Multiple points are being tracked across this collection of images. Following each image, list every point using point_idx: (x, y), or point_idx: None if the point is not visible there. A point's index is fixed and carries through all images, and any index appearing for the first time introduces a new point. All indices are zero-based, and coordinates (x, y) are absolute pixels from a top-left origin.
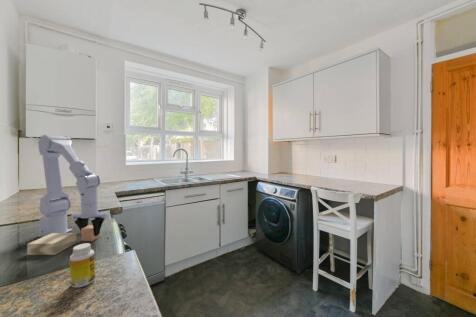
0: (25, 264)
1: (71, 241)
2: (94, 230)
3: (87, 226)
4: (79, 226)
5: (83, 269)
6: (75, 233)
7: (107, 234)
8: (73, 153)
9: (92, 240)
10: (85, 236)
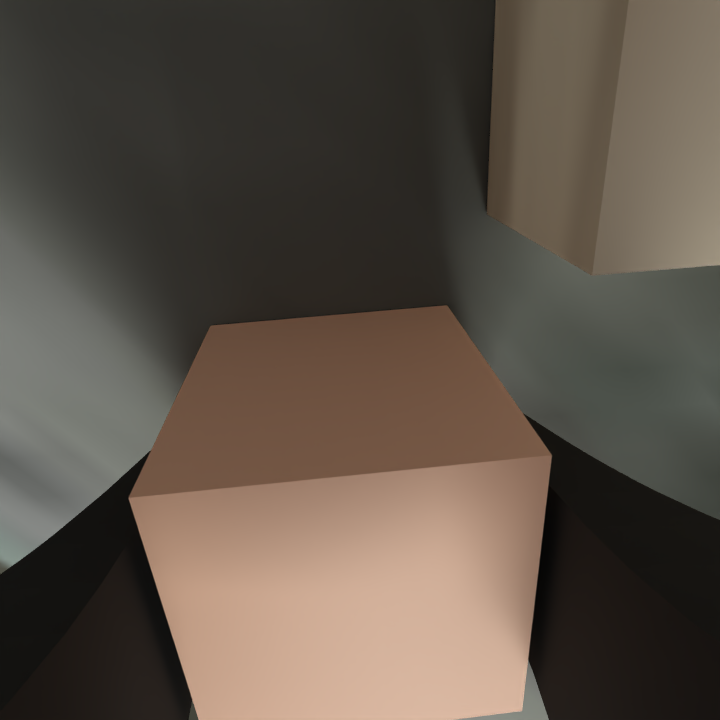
0: None
1: (527, 45)
2: None
3: (485, 632)
4: (676, 533)
5: None
6: (593, 245)
7: None
8: None
9: (211, 329)
10: (368, 351)
